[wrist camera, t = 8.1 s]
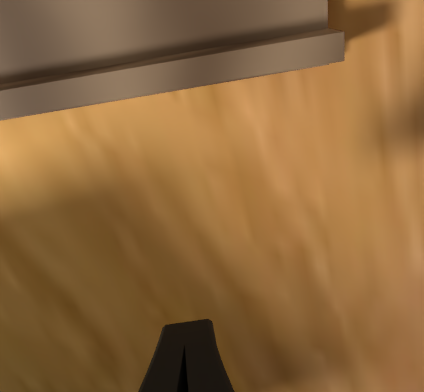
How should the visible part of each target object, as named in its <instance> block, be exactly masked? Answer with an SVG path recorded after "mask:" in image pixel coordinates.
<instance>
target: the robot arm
mask: <svg viewBox="0 0 424 392" xmlns="http://www.w3.org/2000/svg"><path fill="white" fill-rule="evenodd" d="M138 392H234V390H233V388H232V385H231V383H230V380H229V378H228V376H227V373H226V371H225V368H224V366H223V363H222V360H221V358H220V355H219V352H218V348H217V345H216V339H215V334H214V329H213V323H212V321H210V320H209V319H204V320H197V321H190V322H183V323H176V324H169V325H165V326H164V327H163V328H162V331H161V335H160V338H159V341H158V344H157V347H156V350H155V352H154V355H153V358H152V360H151V363H150V365H149V368H148V370H147V373H146V375H145V377H144V380H143V382H142V384H141V387H140V389H139V391H138Z"/></svg>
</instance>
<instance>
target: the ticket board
mask: <svg viewBox="0 0 424 392" xmlns="http://www.w3.org/2000/svg"><path fill="white" fill-rule="evenodd" d="M341 61H344V31H339V30H335V29H330V28H328V0H0V120H6V119H12V118H18V117H24V116H30V115H36V114H41V113H47V112H53V111H59V110H65V109H71V108H77V107H82V106H88V105H94V104H100V103H106V102H112V101H118V100H124V99H129V98H135V97H141V96H147V95H153V94H159V93H165V92H171V91H176V90H182V89H188V88H194V87H200V86H206V85H212V84H218V83H223V82H229V81H235V80H241V79H247V78H253V77H259V76H265V75H270V74H276V73H282V72H288V71H294V70H300V69H306V68H311V67H317V66H323V65H329V63H335V62H341Z"/></svg>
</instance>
